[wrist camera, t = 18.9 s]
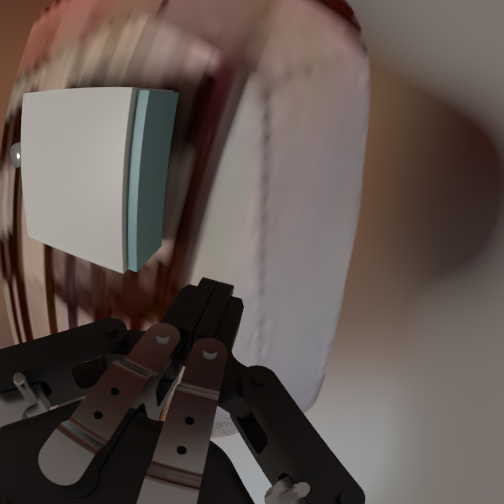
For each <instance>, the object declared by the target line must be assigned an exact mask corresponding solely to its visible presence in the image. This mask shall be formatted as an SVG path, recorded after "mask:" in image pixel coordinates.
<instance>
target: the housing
mask: <svg viewBox="0 0 504 504" xmlns="http://www.w3.org/2000/svg"><path fill="white" fill-rule="evenodd" d="M139 90H151V91H164V92H173V90H163V89H151V88H135V87H93V88H73V89H60V90H49V91H40V92H33V93H25V94H24V95H23V106H22V122H21V171H22V187H23V198H24V208H25V216H26V223H27V230H28V236H29V237H30V238H33V239H35V240H38V241H40V242H42V243H45V244H47V245H50V246H52V247H54V248H57V249H59V250H62V251H64V252H67V253H69V254H72V255H75V256H77V257H80V258H82V259H85V260H88V261H90V262H93V263H96V264H98V265H101V266H104V267H106V268H109V269H112V270H115V271H117V272H120V273H124V272H125V271H126V270H127V269H128V268H129V265H128V200H129V179H130V164H131V151H132V141H133V132H134V123H135V115H136V108H137V101H138V95H139Z"/></svg>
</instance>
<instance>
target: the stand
mask: <svg viewBox="0 0 504 504" xmlns="http://www.w3.org/2000/svg"><path fill="white" fill-rule="evenodd" d="M10 158H11V162H12V164H13V166H14V167H20V166H21V142H19V143H16V144H14V145H13V146H12V147H11V151H10Z"/></svg>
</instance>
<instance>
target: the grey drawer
mask: <svg viewBox="0 0 504 504" xmlns="http://www.w3.org/2000/svg"><path fill="white" fill-rule="evenodd" d="M178 96H179V93H176V92H164V91H151V90H139V95H138V101H137V108H136V115H135V123H134V132H133V141H132V151H131V164H130V179H129V200H128V265H129V270H132V271H135V272H137V271H138V270H139V269H140V268H141V267H142V266H143V265H144V264H145V263H146V262H147V261H148V260H149V259H150V257H151V256H152V255H153V254H154V253H155V252H156V251H157V250H158V249H159V248H160V247H161V243H162V227H163V213H164V201H165V190H166V181H167V171H168V163H169V155H170V147H171V140H172V133H173V126H174V120H175V113H176V107H177V102H178Z"/></svg>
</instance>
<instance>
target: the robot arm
mask: <svg viewBox="0 0 504 504" xmlns="http://www.w3.org/2000/svg"><path fill="white" fill-rule="evenodd" d="M233 289H234V285H230V284H226V283H223V282H218V281H215V280H212V279H208V278H205V277H203V278H202V279H201V281H200V283H199V284H198V286H194V285H191V284H189V285H187V286H186V287H184V288H183V289H181V291H180V292H179V294H178V295H177V298H175V300H174V302H173V303H172V305H171V306H170V308H169V309H168V311H167V313H166V314H165V316H164V317H163V319H162V321H161V322H160V323H158V324H154V325H152V326H151V327H149V328H148V330H147V331H133V330H127V327H126V325H125V323H124V322H122V321H121V320H119V319H116V318H106V319H102V320H99V321H96V322H92V323H89V324H86V325H82V326H79V327H76V328H72V329H69V330H66V331H62V332H59V333H55V334H52V335H49V336H45V337H42V338H38V339H35V340H31V341H28V342H24V343H21V344H17V345H13V346H10V347H7V348H3V349H0V504H255V503H254V502H253V500H252V498H251V497H250V495H249V493H248V491H247V490H246V488H245V486H244V484H243V482H242V481H241V479H240V477H239V475H238V473H237V472H236V469H235V468H234V466H233V464H232V462H231V460H230V459H229V457H228V456H227V455H226V453H225V452H224V451H223V450H222V449H221V448H220V447H218V446H217V445H216V444H215V443H213V442H212V441H210V437H211V432H212V428H213V423H214V418H215V413H216V409H217V406H219V407H221V408H222V409H224V410H226V411H227V412H229V413H230V417H231V419H232V421H233V422H234V424H235V426H236V428H237V429H238V431H239V433H240V434H241V436H242V438H243V440H244V441H245V443H246V445H247V446H248V448H249V450H250V451H251V453H252V455H253V456H254V458H255V460H256V461H257V463H258V464H259V466H260V467H261V469H262V471H263V472H264V474H265V475H266V477H267V478H268V480H269V481H270V483H271V484H272V487H271V488H269V490H268V491H267V492H266V494H265V504H365V494H364V492H363V490H362V489H361V487H360V486H359V485H358V484H357V482H356V481H355V480H354V479H353V477H352V476H351V475H350V474H349V472H348V471H347V470H346V469H345V467H344V466H343V465H342V464H341V463H340V461H339V460H338V459H337V457H336V456H335V455H334V453H333V452H332V451H331V450H330V448H329V447H328V446H327V444H326V443H325V442H324V440H323V439H322V438H321V437H320V435H319V434H318V433H317V431H316V430H315V429H314V427H313V426H312V425H311V423H310V422H309V420H308V419H307V418H306V416H305V415H304V414H303V412H302V411H301V410H300V408H299V407H298V405H297V404H296V403H295V401H294V400H293V399H292V397H291V396H290V394H289V393H288V392H287V390H286V389H285V387H284V386H283V385H282V383H281V382H280V380H279V379H278V377H277V376H276V375H275V373H274V372H273V371H272V370H270V369H268V368H266V367H264V366H258V365H255V366H250V367H246V366H245V365H243V364H241V363H240V362H238V361H237V360H236V359H235V358H234V356H233V354H232V348H233V345H234V342H235V339H236V335H237V332H238V329H239V325H240V321H241V317H242V313H243V308H244V306H243V302H242V299H240V298H237V297H233V296H232V294H233ZM85 361H87V362H85ZM82 362H83V363H82ZM79 363H80V364H79ZM76 364H77V365H76ZM183 366H185V370H184V373H183V376H182V379H181V382H180V384H179V385H177V386H176V388H175V391H174V394H173V397H172V400H171V403H170V406H169V409H168V412H167V415H166V418H165V421H158V419H159V414H160V412H161V410H162V408H163V406H164V404H165V402H166V401H167V399H168V397H169V395H170V393H171V392H172V390H173V388H174V386H175V385H176V383H177V381H178V379H179V374H180V372H181V370H182V367H183ZM56 405H58V406H57V408H56V409H53V410H50V407H52V406H56ZM49 410H50V411H49Z"/></svg>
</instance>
